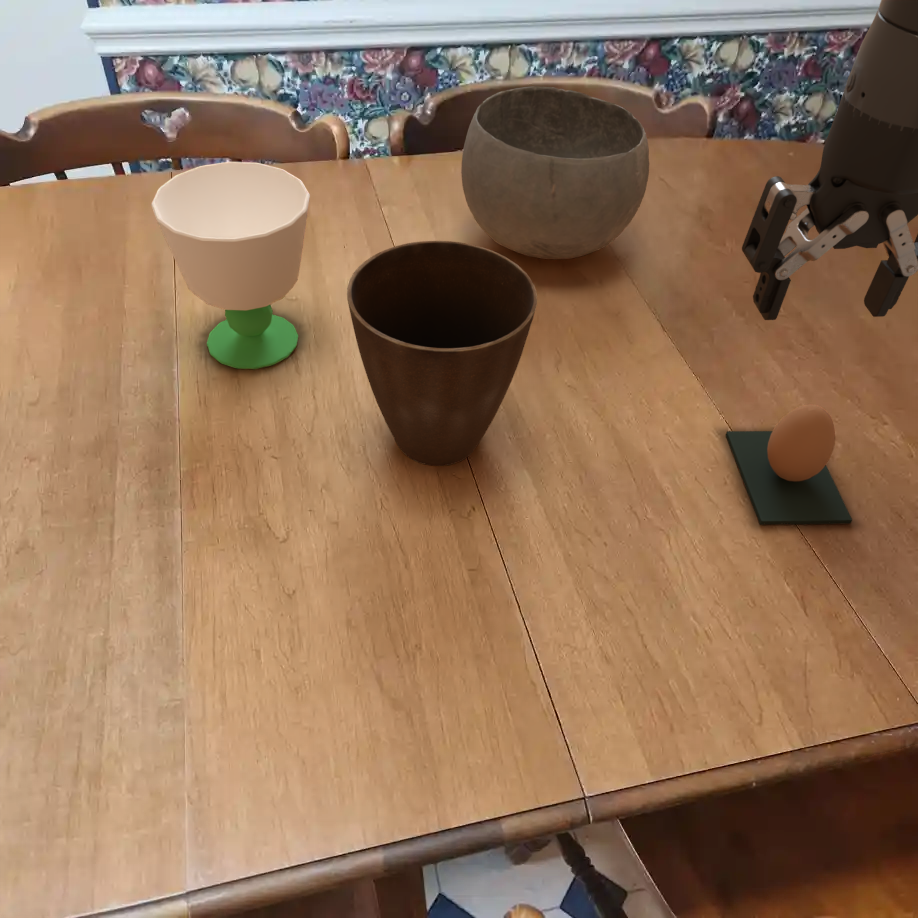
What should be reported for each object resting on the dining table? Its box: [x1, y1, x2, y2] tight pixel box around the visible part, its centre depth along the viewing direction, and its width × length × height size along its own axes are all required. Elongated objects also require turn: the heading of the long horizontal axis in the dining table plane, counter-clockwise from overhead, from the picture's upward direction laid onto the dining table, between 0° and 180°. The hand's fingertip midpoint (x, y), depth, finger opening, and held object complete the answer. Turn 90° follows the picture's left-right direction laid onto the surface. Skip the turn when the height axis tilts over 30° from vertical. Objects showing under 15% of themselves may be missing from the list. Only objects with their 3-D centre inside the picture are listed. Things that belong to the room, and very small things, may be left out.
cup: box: [150, 161, 311, 370], centre depth 84 cm, size 14×14×16 cm
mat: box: [725, 430, 853, 526], centre depth 79 cm, size 11×8×1 cm
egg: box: [767, 403, 836, 482], centre depth 76 cm, size 5×5×8 cm
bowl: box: [460, 85, 650, 260], centre depth 99 cm, size 20×20×15 cm
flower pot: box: [346, 240, 538, 467], centre depth 75 cm, size 15×15×16 cm
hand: (819, 312), depth 66 cm, fingers open, 8 cm apart
